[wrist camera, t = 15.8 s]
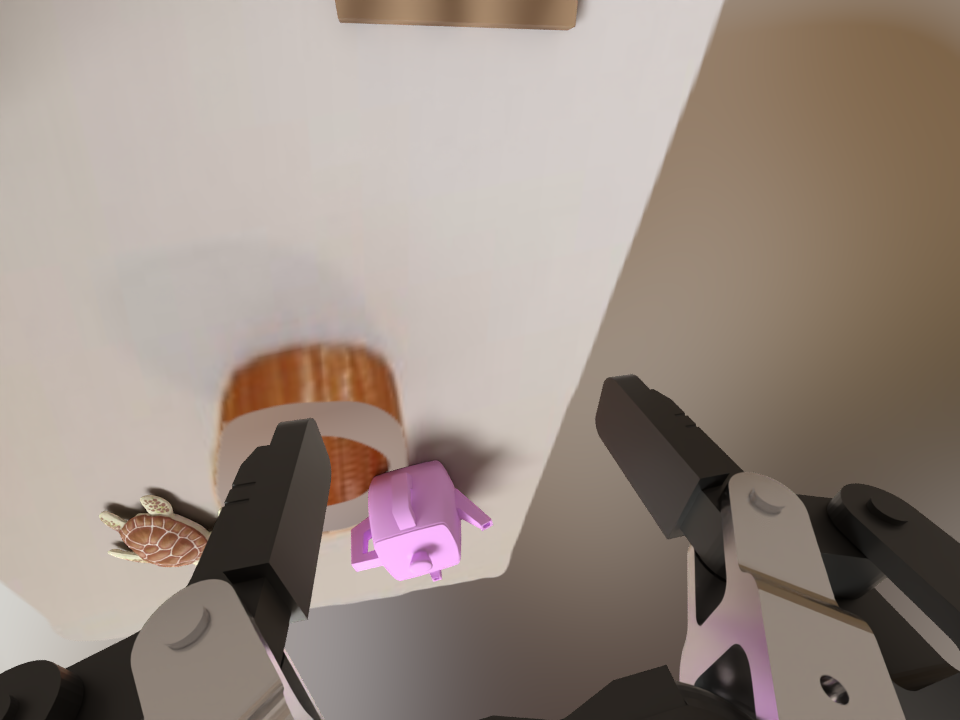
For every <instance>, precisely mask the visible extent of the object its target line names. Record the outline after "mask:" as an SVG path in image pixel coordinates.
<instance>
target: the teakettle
mask: <svg viewBox="0 0 960 720" xmlns="http://www.w3.org/2000/svg"><path fill="white" fill-rule="evenodd" d="M368 507H369V517H367V518H366V519H365V520H363V521H362V522H361V523H360V524H358V525H357V526H356V527H354V528H353V529H352V530H351V565H352V566H353V567H354V569H355V570H356V572H357V571H361V570H366V569H370V568H374V567H378V566H383V565H384V567H385V568H386V569H387V571H388V572H389V573H390V574H391V575H392V576H393V577H394V578H395V579H397V580H399V581H402V580H406V579H410V578H414V577H418V576H421V575H425V574H428V573H430V575H431V577H432V580H433V581H437V580H441V579H442V574H441V570H442V569H445V568H448V567H451V566H454V565H457V564H458V563H459V562H460V559H461V520H462V519H463V520H465V521H467V522H469V523H471V524H473V525H475V526H476V527H478V528H480V529H482V531H483V530H485V529H487V528H489V527H491V526H492V525H493V523H492V520H491V518H490V517H489V516H487V515H486V514H485V513H484V512H483V511H482V510H481V509H479V508H478V507H477V506H476V505H475V504H474V503H473V502H471V501H470V500H469V499H468V498H467V497H466V496H465V495H463V494H462V493H461V492H460V491H459V490H458V489H457V488H456V489H455V487H454V485H453V483H452V481H451V479H450V477H449V475H448V473H447V471H446V469H445V468H444V466H443V465H442V464H441V462H439V461H437V460H435V461H429V462H424V463H420V464H416V465H412V466H408V467H404V468H400V469H397V470H393V471H390V472H387V473H383V474H380V475H377V476H375V477H374V478H373V480H372V482H371V484H370V487H369V492H368ZM371 538H372V539H373V544H374V548H375V550H374V551H371V552H368V540H370V539H371Z"/></svg>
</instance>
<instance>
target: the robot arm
mask: <svg viewBox="0 0 960 720" xmlns="http://www.w3.org/2000/svg"><path fill="white" fill-rule="evenodd" d="M595 420H596V428H597V431H598V434H599V436H600V438H601V439H602V441H603V442H604V444H605V446H606V447H607V449H608V450H609V452H610V453H611V455H612V456H613V458H614V459H615V461H616V462H617V464H618V465H619V467H620V468H621V470H622V471H623V473H624V474H625V476H626V477H627V479H628V481H629V482H630V484H631V485H632V487H633V488H634V490H635V491H636V493H637V494H638V496H639V497H640V499H641V500H642V502H643V503H644V505H645V506H646V508H647V509H648V511H649V512H650V514H651V515H652V517H653V518H654V520H655V521H656V523H657V524H658V526H659V528H660V529H661V531H662V532H663V533H664V535H665V536H666V538H667V539H672V538H676V537H681V536H686V538H687V539H688V541H689V542H690V546H689V548H688V554H687V555H688V556H687V557H688V632H687V638H686V642H685V645H684V648H683V652H682V657H681V664H680V682H679V681H674V679H673V677H672V675H671V673H670V671H669V669H668V667H667V665H664V666H661V667H657V668H654V669H651V670H647V671H644V672H640V673H637V674H634V675H630V676H627V677H623V678H620V679H616V680H613V681H612V682H611V683H609V684H608V685H607V686H605V687H604V688H603V689H602V690H600V691H599V692H598V693H597V694H595V695H594V696H593V697H591V698H590V699H589V700H588V701H586V702H585V703H584V704H583V705H582V706H580V707H579V708H577V709H576V710H575V711H574V712H572V713H571V714H570V715H569V716H567V717H566V718H564V719H561V720H960V671H958V670H957V669H955V668H954V667H952V666H951V665H950V664H948V663H947V662H946V661H945V660H944V659H943V658H942V657H941V656H940V655H939V654H938V653H937V652H936V651H935V650H934V649H933V648H932V647H931V646H930V645H929V644H928V643H927V642H926V641H925V640H924V639H923V637H922V636H921V635H920V634H919V633H918V632H917V631H916V630H915V629H914V628H913V627H912V626H911V625H910V624H909V623H908V622H907V621H906V620H905V619H904V618H903V617H902V616H901V615H900V614H899V613H898V612H897V611H896V610H895V609H894V608H893V607H892V606H891V605H890V604H889V603H888V602H887V601H886V600H885V599H884V598H883V597H882V595H881V594H880V593H879V592H878V591H877V590H876V589H875V588H874V587H875V586H877V585H878V584H879V583H881V582H882V581H883V580H884V579H886V578H887V577H888V578H889V579H890V580H891V581H892V582H893V583H894V584H895V585H896V586H897V587H898V588H899V589H900V590H901V591H902V592H904V594H905V595H906V596H907V597H909V599H910V600H912V601H913V602H914V603H915V604H916V605H917V606H918V607H919V608H920V609H921V610H922V611H923V612H924V613H925V614H926V615H927V616H928V617H929V618H930V619H931V620H932V621H933V622H934V623H935V624H936V625H937V626H938V627H939V628H940V629H941V630H942V631H944V633H945V634H946V635H948V636H949V638H951V640H952V641H953V642H954V643H955V644H956V645H957V647H958V648H959V650H960V543H958V542H957V541H956V540H955V539H953V538H952V537H951V536H949V535H948V534H947V533H945V532H944V531H943V530H942V529H940V528H939V527H938V526H937V525H935V524H934V523H933V522H931V521H930V520H929V519H928V518H926V517H925V516H924V515H923V514H921V513H920V512H919V511H917V510H916V509H915V508H914V507H912V506H911V505H909V504H908V503H906V502H905V501H903V500H902V499H900V498H898V497H896V496H895V495H893V494H891V493H889V492H886V491H884V490H881V489H879V488H876V487H873V486H869V485H864V484H848V485H846V486H844V487H843V488H842V489H841V490H840V491H839V492H838V493H837V494H836V495H835V497H834V498H824V497H815V496H806V495H797V494H794V493H793V492H792V491H791V490H790V489H789V488H787V487H786V486H784V485H783V484H781V483H780V482H778V481H776V480H774V479H772V478H770V477H767V476H764V475H761V474H757V473H752V472H744V471H743V470H742V469H741V468H740V467H739V466H738V465H737V464H736V463H735V462H734V461H733V460H732V459H731V458H730V457H728V455H726V453H725V452H724V451H722V449H721V448H719V446H718V445H717V444H715V443H714V442H713V441H712V440H711V439H710V438H709V437H708V436H707V435H706V434H705V433H704V432H703V431H702V430H701V429H700V428H699V427H696V424H695V423H694V422H693V421H692V420H691V419H690V418H689V417H688V416H685V413H684V412H683V411H682V410H681V409H680V408H679V407H678V406H677V405H676V404H675V403H674V402H673V401H672V400H671V399H670V398H668V397H666V396H664V395H663V394H661V393H659V392H658V391H656V390H654V389H651V390H650V389H649V388H648V387H647V386H646V385H645V384H644V383H643V382H642V381H641V380H640V379H639V378H638V377H637V376H636V375H633V374H631V375H624V376H616V377H609V378H607V379H606V380H605V381H604V384H603V389H602V392H601V397H600V401H599V405H598V409H597V413H596V419H595ZM330 483H331V465H330V460H329V456H328V453H327V451H326V448H325V445H324V443H323V440H322V437H321V434H320V432H319V429H318V426H317V424H316V422H315V420H314V419H313V418H309V419H301V420H294V421H286V422H281V423H279V424H278V425H277V428H276V430H275V433H274V435H273V438H272V441H271V443H270V445H267V446H260V447H257V448H256V449H255V450H254V451H253V452H252V454H251V455H250V456H249V457H248V458H247V459H246V460H245V461H244V462H243V463H242V465H241V466H240V468H239V471H238V473H237V475H236V477H235V480H234V482H233V484H232V489H231V490H230V491H229V494H228V496H227V498H226V500H225V502H224V503H225V506H224V507H222V509H221V512H220V514H219V516H218V518H217V521H216V523H215V525H214V528H213V530H212V532H211V534H210V537H209V539H208V541H207V544H206V546H205V548H204V550H203V553H202V555H201V557H200V560H199V562H198V564H197V566H196V569H195V571H194V573H193V576H192V578H191V580H190V581H189V583H188V585H187V586H186V588H184V589H182V590H180V591H179V592H177V593H176V594H174V595H173V596H172V597H170V598H169V599H168V600H166V601H165V602H164V603H163V604H162V605H161V606H160V607H159V608H158V609H157V610H156V611H155V612H154V613H153V614H152V615H151V616H150V618H149V619H148V620H147V622H146V623H145V624H144V626H143V627H142V629H141V630H140V631H139V632H137V633H135V634H133V635H131V636H130V637H128V638H126V639H124V640H122V641H120V642H118V643H116V644H114V645H112V646H110V647H108V648H106V649H104V650H102V651H100V652H98V653H96V654H94V655H92V656H90V657H88V658H86V659H84V660H82V661H80V662H78V663H76V664H74V665H72V666H70V667H68V668H66V669H65V668H63V667H61V666H59V665H56V664H55V663H53V662H50V661H46V660H36V661H31V662H27V663H24V664H21V665H18V666H16V667H14V668H11V669H9V670H7V671H5V672H3V673H1V674H0V720H325V719H324V718H323V716H322V714H321V712H320V711H319V709H318V707H317V705H316V703H315V701H314V700H313V698H312V696H311V694H310V692H309V691H308V689H307V687H306V686H305V684H304V682H303V680H302V678H301V676H300V675H299V673H298V671H297V669H296V667H295V666H294V664H293V662H292V660H291V658H290V657H289V655H288V653H287V651H286V650H285V648H284V647H285V642H286V637H287V632H288V627H289V624H290V623H294V622H298V621H303V620H307V619H308V613H309V608H310V602H311V596H312V590H313V584H314V578H315V572H316V566H317V560H318V554H319V548H320V542H321V536H322V531H323V524H324V519H325V512H326V507H327V501H328V495H329V489H330ZM480 720H542V719H529V718H516V717H504V716H490V717H487V718H483V719H480Z"/></svg>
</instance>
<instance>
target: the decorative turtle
mask: <svg viewBox="0 0 960 720" xmlns="http://www.w3.org/2000/svg"><path fill="white" fill-rule="evenodd" d="M140 502H141V504H142V505H143V506H144V507H145V509H146V510H147V512H148V513H149V514H148V513H139V514H137V515H136V516H135V517H133V518H131V519H129V520H128V521H127V520H124V519H122V518H120V517H119V516H117V515H115V514H113V513H110V512H108V511H103V512H102V513H101V514H100V515H99V517H100V519H101V521H103V522H104V523H105V524H106V525H107V526H109V527H110V528H112V529H114V530H116V531H118V532H119V534H120V535H121V538H122V540H123V541H124V543H125V544H126V545H127V546H128V547H129V548H130V549H132V551H133V552H129V551H122V550H119V549H112V550H110V551H108V554H110V555H112V556H115V557H118V558H121V559H125V560H129V561H134V562H140V563H152V564H156V565H158V566H162V567H179V566H183V565H188V564H192V563H193V564H194V565H196V566H197V564H198V562H199V560H200V557H201V555H202V553H203V550H204V548H205V546H206V544H207V541H208V539H209V537H210V534H211V532H212V531H210V532H208V531H207V530H206V529H205V528H204V527H203V526H201V525H199V524H198V523H196V522H194V521H192V520H190V519H188V518H185V517H183V516H180V515H178V514H173V509H172V505H171V504H170V503H169V502H168V501H166V500H165V499H163V498H161V497H158V496H154V495H145V496H143V497H142V498H141V499H140ZM221 509H222V508H220V509H219V511H218V516H219V514H220V512H221Z"/></svg>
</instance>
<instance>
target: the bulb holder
mask: <svg viewBox="0 0 960 720" xmlns="http://www.w3.org/2000/svg"><path fill="white" fill-rule="evenodd" d="M335 3H336V9H337V15H338V19H339V21H340V23H367V24H397V25H426V26H455V27H485V28H514V29H543V30H569V29H571V28H573V27H575V23H576V13H577V4H578V0H335Z"/></svg>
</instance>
